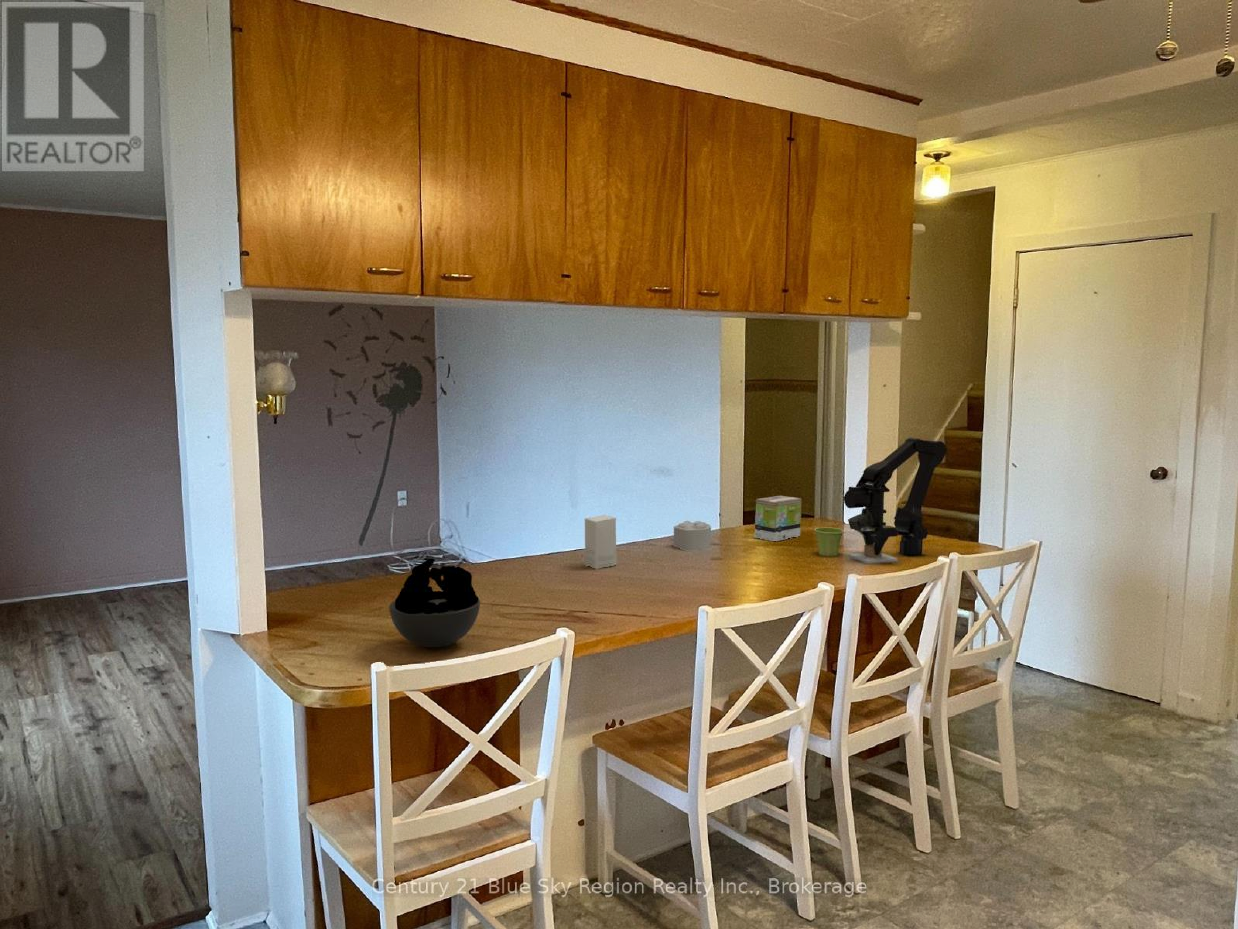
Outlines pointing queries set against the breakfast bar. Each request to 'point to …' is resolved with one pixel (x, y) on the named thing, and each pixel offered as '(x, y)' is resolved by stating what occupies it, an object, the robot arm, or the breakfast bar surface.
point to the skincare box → (600, 541)
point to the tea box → (777, 518)
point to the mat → (871, 563)
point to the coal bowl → (435, 606)
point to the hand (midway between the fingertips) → (873, 553)
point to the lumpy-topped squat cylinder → (692, 535)
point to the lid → (872, 556)
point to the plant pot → (828, 540)
